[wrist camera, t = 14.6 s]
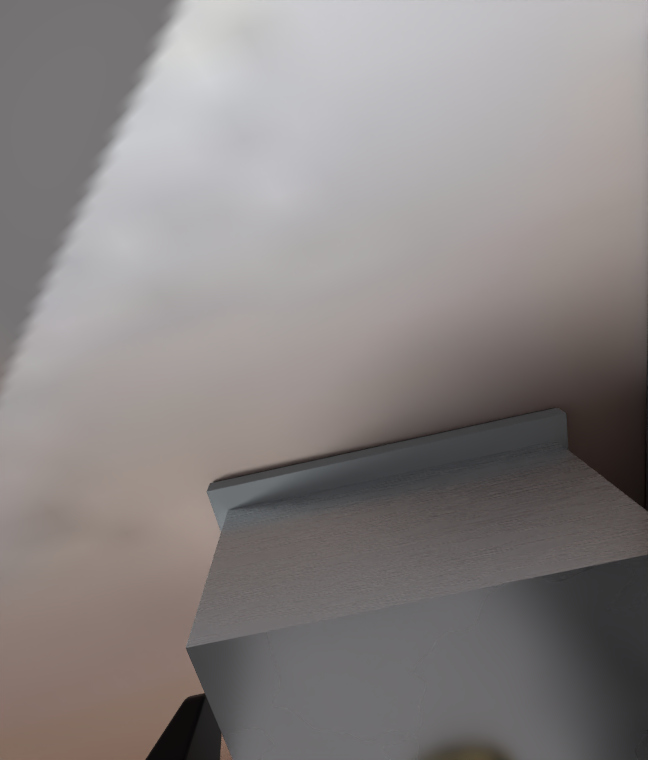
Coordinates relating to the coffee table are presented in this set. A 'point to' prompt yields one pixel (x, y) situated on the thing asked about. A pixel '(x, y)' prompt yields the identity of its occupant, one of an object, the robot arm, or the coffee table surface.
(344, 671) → the grey squarish block
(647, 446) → the body
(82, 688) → the coffee table surface
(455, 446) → the felt pad
